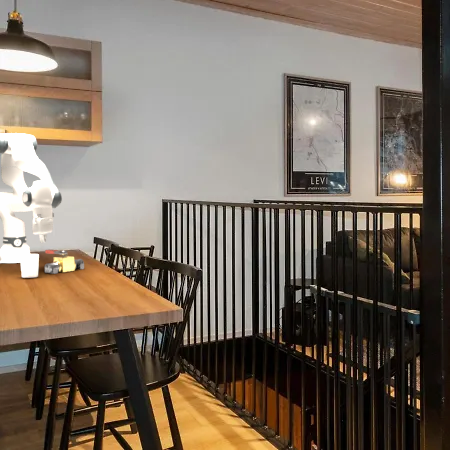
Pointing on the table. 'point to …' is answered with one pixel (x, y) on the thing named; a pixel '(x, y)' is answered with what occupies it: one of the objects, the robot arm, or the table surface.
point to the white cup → (29, 265)
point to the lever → (56, 252)
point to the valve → (64, 264)
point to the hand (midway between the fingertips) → (43, 242)
